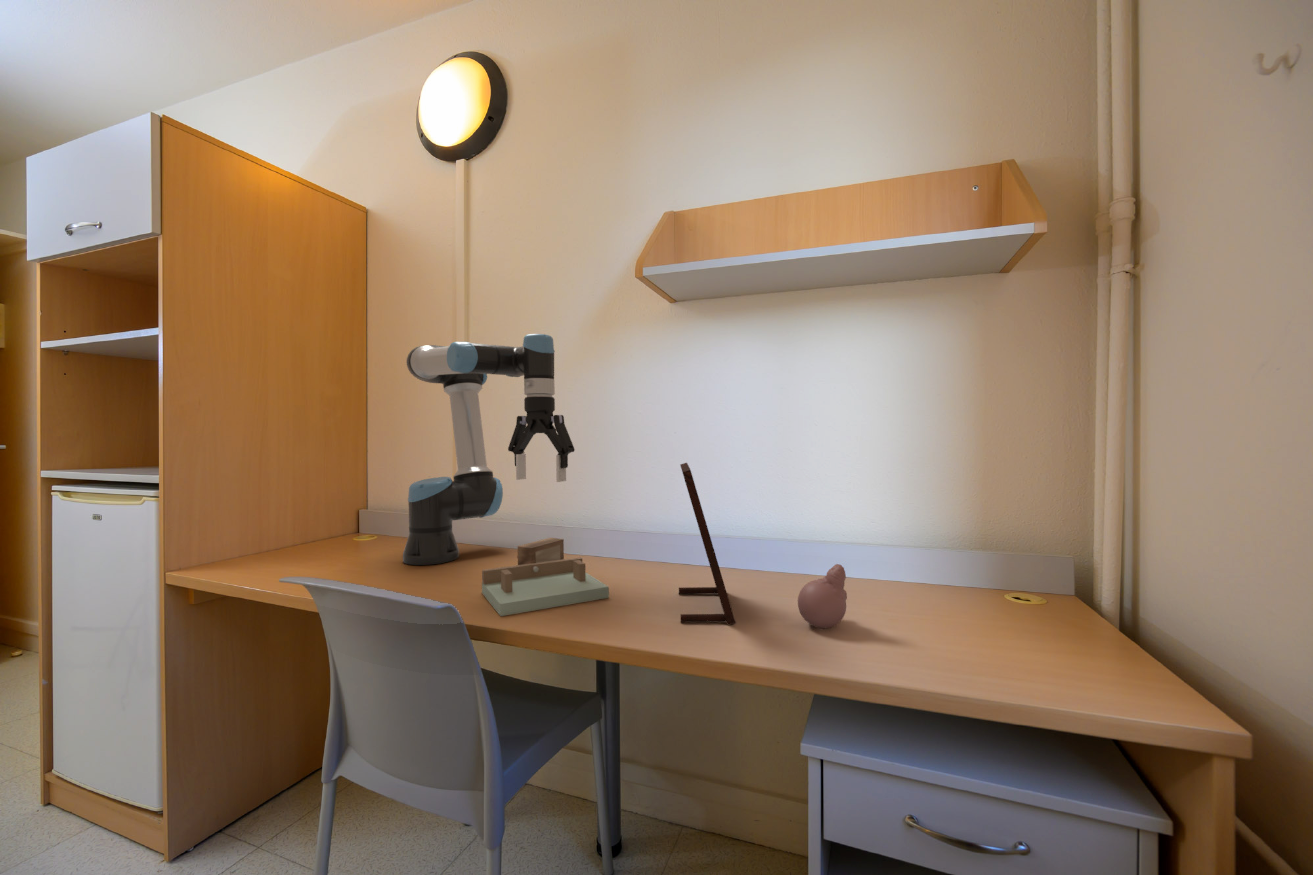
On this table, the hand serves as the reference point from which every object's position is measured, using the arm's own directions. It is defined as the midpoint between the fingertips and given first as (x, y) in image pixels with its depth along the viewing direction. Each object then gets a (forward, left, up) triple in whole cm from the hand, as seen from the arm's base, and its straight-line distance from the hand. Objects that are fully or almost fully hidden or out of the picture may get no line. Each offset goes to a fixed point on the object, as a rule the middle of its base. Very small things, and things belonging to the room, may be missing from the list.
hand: (540, 480), depth 141 cm
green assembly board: (+15, -4, -25) cm, 29 cm away
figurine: (+60, +37, -25) cm, 75 cm away
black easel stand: (+40, +23, -25) cm, 52 cm away
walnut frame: (0, 0, -25) cm, 25 cm away
